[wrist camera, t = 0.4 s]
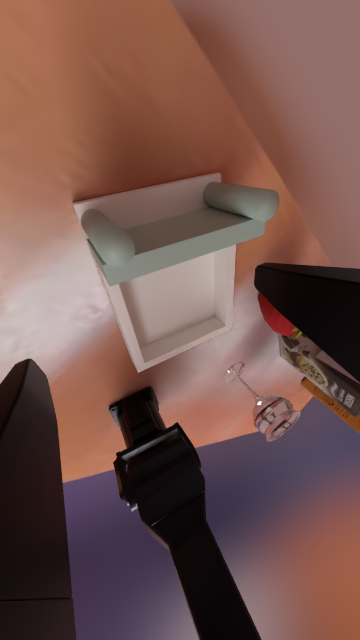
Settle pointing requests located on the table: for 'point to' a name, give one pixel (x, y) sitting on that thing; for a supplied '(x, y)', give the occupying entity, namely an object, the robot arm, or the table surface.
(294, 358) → the coffee box
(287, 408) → the wineglass
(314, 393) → the coffee package
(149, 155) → the table surface
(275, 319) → the strawberry
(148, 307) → the cradle stand
